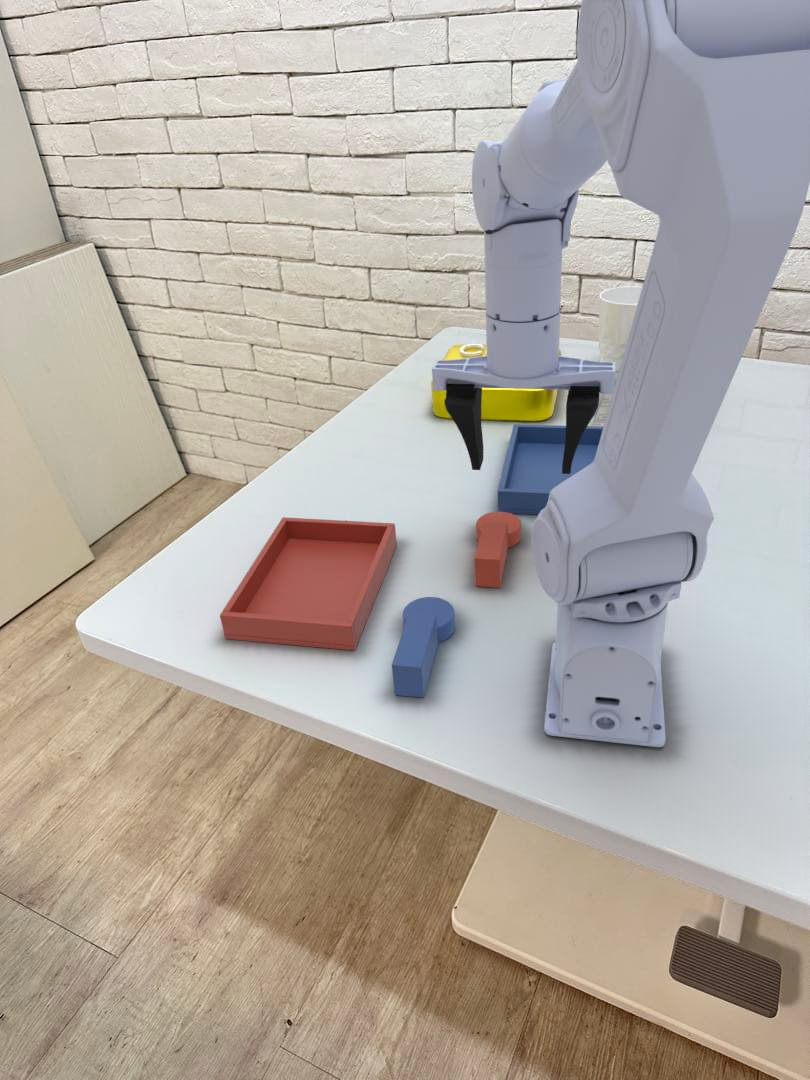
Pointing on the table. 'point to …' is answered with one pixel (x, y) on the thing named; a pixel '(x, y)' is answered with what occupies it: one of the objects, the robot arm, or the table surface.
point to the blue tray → (540, 465)
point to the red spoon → (494, 546)
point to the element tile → (500, 395)
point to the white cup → (616, 321)
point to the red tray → (312, 584)
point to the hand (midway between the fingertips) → (521, 466)
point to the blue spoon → (420, 643)
